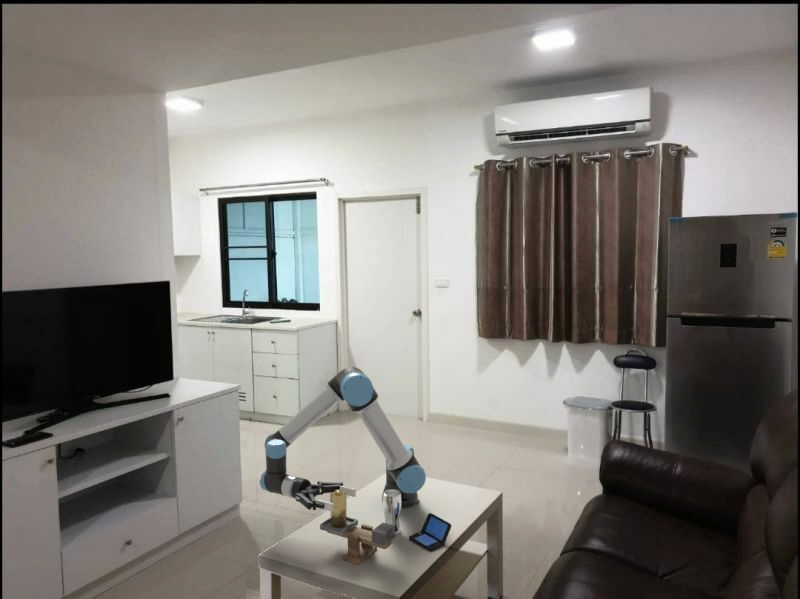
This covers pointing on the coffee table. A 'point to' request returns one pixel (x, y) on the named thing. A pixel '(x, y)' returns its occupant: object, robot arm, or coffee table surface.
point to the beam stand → (358, 547)
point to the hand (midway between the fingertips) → (344, 500)
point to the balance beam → (363, 532)
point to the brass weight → (338, 509)
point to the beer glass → (392, 508)
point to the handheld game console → (432, 533)
